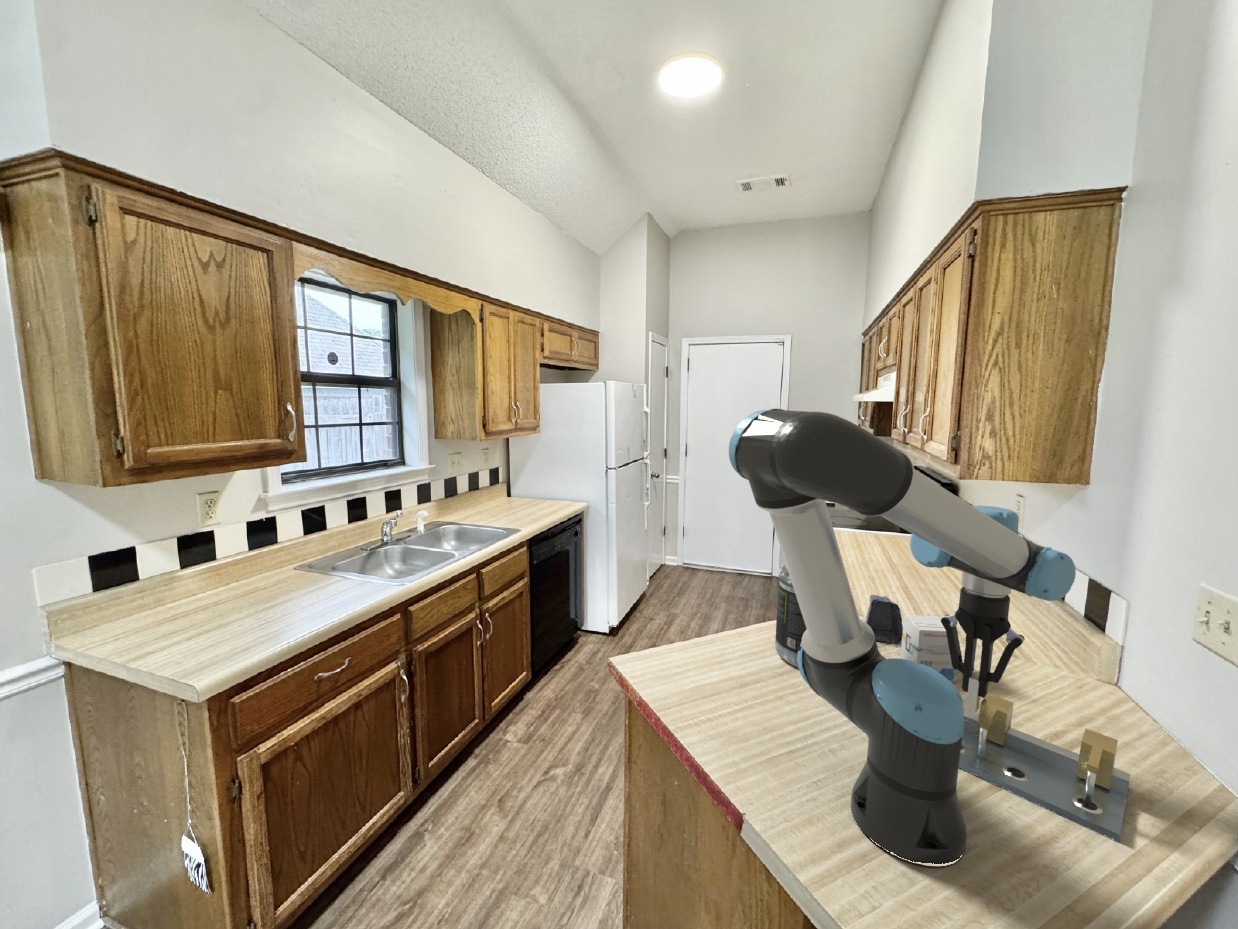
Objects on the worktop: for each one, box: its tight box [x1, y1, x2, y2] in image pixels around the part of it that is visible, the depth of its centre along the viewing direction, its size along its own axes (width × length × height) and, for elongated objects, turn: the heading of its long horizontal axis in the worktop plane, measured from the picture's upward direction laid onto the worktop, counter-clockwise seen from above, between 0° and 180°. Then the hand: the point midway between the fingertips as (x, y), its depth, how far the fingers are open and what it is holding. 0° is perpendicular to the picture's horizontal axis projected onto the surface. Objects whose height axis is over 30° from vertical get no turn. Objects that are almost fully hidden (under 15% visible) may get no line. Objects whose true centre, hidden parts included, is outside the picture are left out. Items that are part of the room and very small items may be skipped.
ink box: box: [900, 614, 959, 680], centre depth 122 cm, size 9×8×12 cm
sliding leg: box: [977, 693, 1014, 756], centre depth 94 cm, size 12×4×6 cm, turn 132°
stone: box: [864, 594, 903, 645], centre depth 139 cm, size 12×10×10 cm
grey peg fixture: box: [959, 709, 1131, 843], centre depth 90 cm, size 16×26×8 cm, turn 42°
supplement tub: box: [774, 564, 807, 668], centre depth 126 cm, size 16×16×26 cm
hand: (972, 709), depth 99 cm, fingers closed
